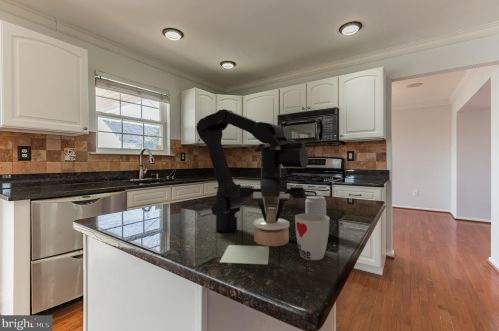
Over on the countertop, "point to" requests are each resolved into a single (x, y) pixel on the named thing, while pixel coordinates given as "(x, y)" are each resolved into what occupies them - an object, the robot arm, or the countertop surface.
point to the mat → (246, 254)
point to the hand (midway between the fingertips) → (271, 221)
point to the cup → (312, 235)
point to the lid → (271, 221)
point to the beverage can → (315, 205)
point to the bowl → (271, 237)
